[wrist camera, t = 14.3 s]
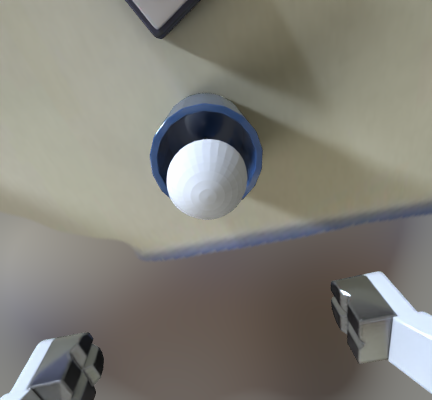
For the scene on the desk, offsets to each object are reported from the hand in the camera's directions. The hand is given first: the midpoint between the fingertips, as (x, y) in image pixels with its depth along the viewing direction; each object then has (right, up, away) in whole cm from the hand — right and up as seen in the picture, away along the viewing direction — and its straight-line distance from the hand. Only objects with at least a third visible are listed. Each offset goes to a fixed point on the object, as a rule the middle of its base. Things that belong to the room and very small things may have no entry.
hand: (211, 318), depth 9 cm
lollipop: (-1, +11, +22) cm, 25 cm away
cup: (-1, +11, +23) cm, 25 cm away
